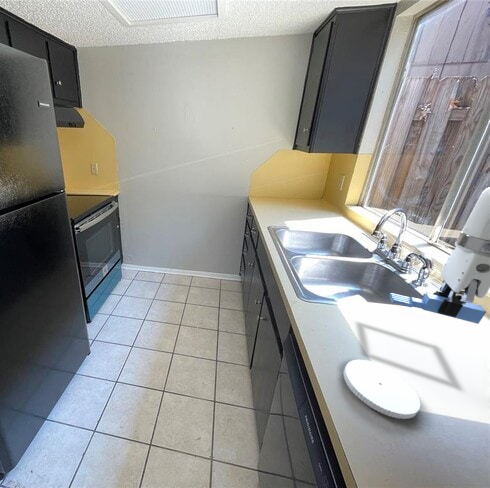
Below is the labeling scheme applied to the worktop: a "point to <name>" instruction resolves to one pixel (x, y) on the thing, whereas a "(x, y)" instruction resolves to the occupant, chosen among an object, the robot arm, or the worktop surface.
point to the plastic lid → (381, 389)
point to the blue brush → (434, 302)
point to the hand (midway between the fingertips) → (443, 310)
